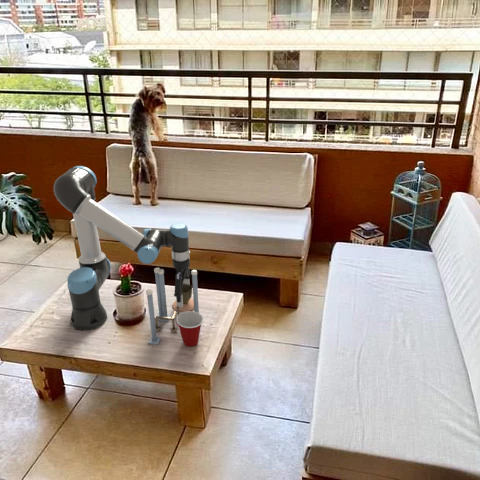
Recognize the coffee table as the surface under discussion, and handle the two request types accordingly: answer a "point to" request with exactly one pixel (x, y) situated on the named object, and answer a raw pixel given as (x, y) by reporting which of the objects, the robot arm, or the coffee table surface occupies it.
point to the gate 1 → (149, 292)
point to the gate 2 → (195, 291)
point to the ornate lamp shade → (186, 293)
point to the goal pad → (185, 306)
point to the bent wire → (168, 319)
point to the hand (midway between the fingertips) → (183, 298)
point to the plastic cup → (189, 327)
